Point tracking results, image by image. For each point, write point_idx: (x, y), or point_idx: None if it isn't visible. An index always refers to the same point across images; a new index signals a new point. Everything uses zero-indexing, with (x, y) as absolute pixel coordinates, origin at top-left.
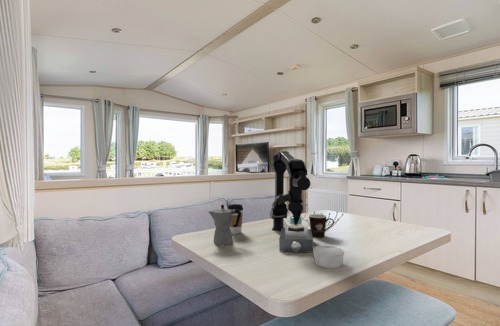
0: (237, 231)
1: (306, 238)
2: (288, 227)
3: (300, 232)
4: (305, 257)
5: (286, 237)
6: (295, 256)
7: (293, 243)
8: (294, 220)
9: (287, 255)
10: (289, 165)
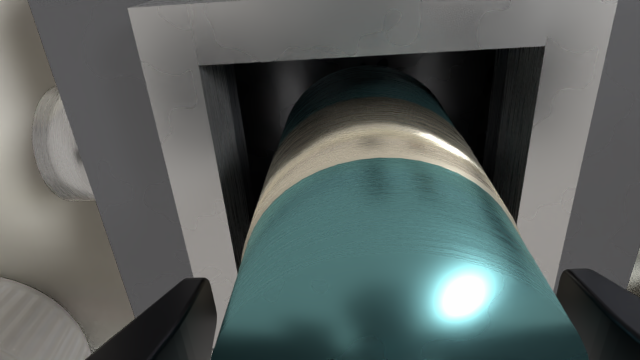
0: None
1: (163, 294)
2: (504, 47)
3: (192, 270)
4: (43, 201)
5: (98, 30)
6: (22, 116)
7: (36, 132)
8: (117, 349)
9: (7, 32)
10: None
